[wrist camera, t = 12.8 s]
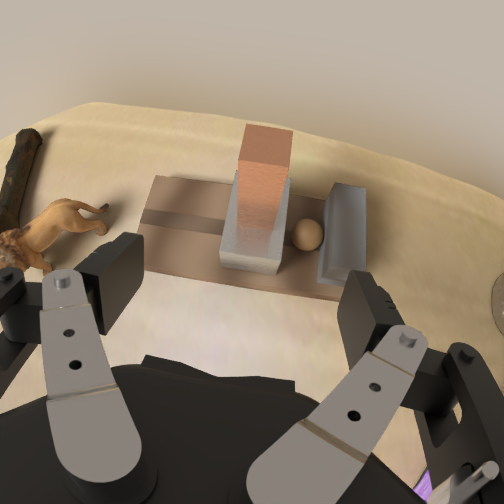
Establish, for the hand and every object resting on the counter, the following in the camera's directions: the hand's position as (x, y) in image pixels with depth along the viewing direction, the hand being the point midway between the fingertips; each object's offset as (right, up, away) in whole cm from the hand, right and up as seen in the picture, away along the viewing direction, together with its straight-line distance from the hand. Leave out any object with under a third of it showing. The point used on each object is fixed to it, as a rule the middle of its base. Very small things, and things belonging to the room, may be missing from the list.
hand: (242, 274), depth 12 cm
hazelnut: (+5, +2, +19) cm, 20 cm away
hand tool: (-30, +8, +22) cm, 38 cm away
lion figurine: (-21, 0, +20) cm, 29 cm away
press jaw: (+1, +3, +19) cm, 19 cm away
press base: (0, +2, +21) cm, 21 cm away
